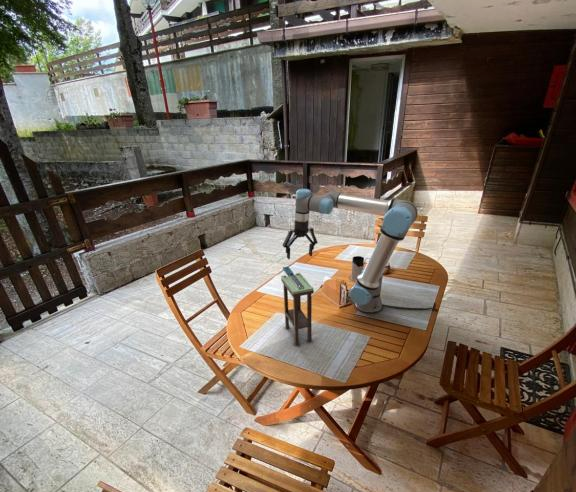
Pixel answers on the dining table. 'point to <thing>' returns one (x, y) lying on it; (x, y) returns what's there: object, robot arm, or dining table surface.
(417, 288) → the dining table surface
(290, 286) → the tray
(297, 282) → the blue grooved block
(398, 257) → the dining table surface
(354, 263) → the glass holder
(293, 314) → the stand
